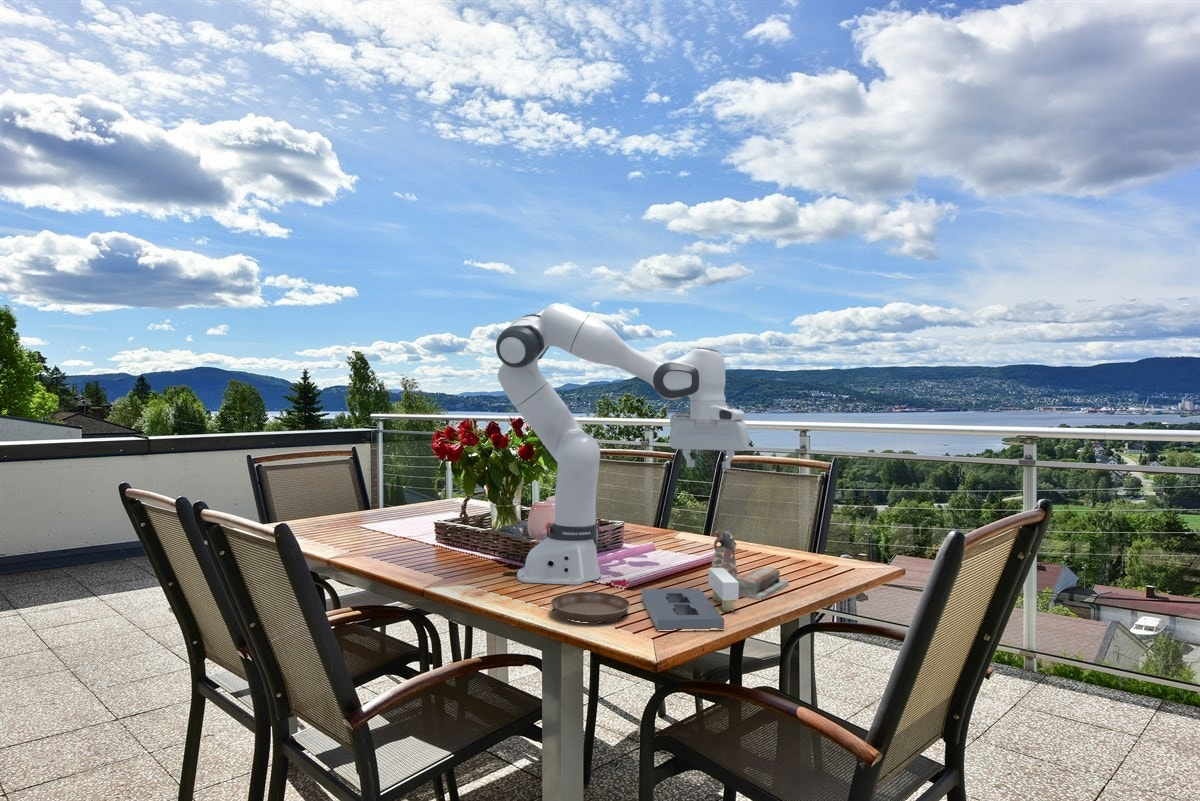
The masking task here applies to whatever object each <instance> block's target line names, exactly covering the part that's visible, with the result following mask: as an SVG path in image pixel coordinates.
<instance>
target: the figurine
mask: <svg viewBox="0 0 1200 801" xmlns="http://www.w3.org/2000/svg"><path fill="white" fill-rule="evenodd" d="M714 534H715V535H716V537H717V538H716V539H715V540H714V542H713V543H714V545H713V546H714V554H713V557H712V561H711V568H724V569H725V570H726V571H727V572H728V573H729V574H730V575H731V576H732V577H733V578H736V577H738V576H739V574H738V567H737V561H736V555H735V552H736V546H737V545H738V544H737V543H736V541H735V539H734V536H733V535H732V534H731V533H730V532H729V531H725V530H724V531H723V532H722V534H721V533H720V531H719V530H716V531H715V532H714ZM718 543H720V546H717V544H718Z"/></svg>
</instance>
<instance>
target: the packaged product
mask: <svg viewBox="0 0 1200 801" xmlns="http://www.w3.org/2000/svg"><path fill="white" fill-rule="evenodd" d="M780 574H781V573H780V570H779V569H776V568H775V567H773V566H772V567H771V566H770V567H759V568H755V569H753V570H750V571H748V572H746V573H743V574H740V575H738V576H737V577H734V578H735V579H736V580H737V581H738V582H739V596H738V597H740V596H742V597H741V598H746V597H749V598H748V599H751V598H756V599H755V600H757V599H763V598H764V599H766V598H768V597H770V596H772V595H774V594H776V593H777V592H776V591H778V590H780V589H781V588H783V587H785V586H786V587H788V586H789V583H790V581H789V580H786V579H785V580H784V579H780ZM787 585H788V586H787ZM786 587H785V588H786ZM783 589H784V588H783ZM780 591H781V590H780ZM775 592H776V593H775ZM778 592H779V591H778ZM773 593H774V594H773ZM771 594H772V595H771ZM769 595H770V596H769ZM767 596H768V597H767ZM765 597H766V598H765ZM764 599H763V600H764Z"/></svg>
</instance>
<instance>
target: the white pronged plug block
mask: <svg viewBox="0 0 1200 801" xmlns="http://www.w3.org/2000/svg"><path fill="white" fill-rule="evenodd" d="M735 578H736V577H734V578H733V577H732V576H731V575H730V574H729V573H728V572H727V571H726V570H725V569H724V568H712V567H708V586H710V588H711V589H712V600H713V601H715V602H716V601H717V602H720V601H721V611H722V610H723V611H722V612H724V611H728V612H727V613H730V612H729V611H732V612H734V601H739V597H740V596H739V582H738V581H737V580H736V579H735Z"/></svg>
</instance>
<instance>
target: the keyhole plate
mask: <svg viewBox="0 0 1200 801" xmlns="http://www.w3.org/2000/svg"><path fill="white" fill-rule="evenodd" d="M641 601H642V603H643V605H644V608H645V609H646V610H645V611H646V612H647V613H648V616H649V617H650V620H651V619H652V620H651V622H652V621H653V622H652V624H653V623H654V624H653V625H655V626H654V628H655V627H656V628H655V630H656V629H657V630H674V629H676V630H677V629H711V628H718V629H724V630H725V618H724V617H723V615H722V614H721V613H720V612H719V611H718V610H717V609H716V607H715V606H714V605H713V603H712V602H711V601H710V600H709V599H708V597H707V595H705V594H704V592H703V591H702V590H701V588H642V589H641ZM657 630H656V631H657Z"/></svg>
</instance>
